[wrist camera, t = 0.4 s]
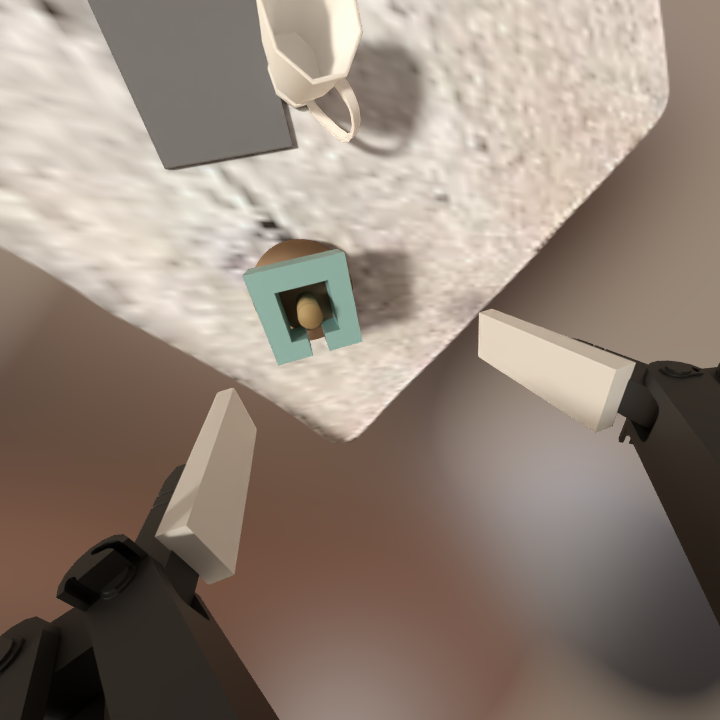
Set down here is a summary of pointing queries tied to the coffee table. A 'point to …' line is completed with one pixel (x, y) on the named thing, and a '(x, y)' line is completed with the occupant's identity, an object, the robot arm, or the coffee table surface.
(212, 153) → the mat
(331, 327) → the link
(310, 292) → the stand
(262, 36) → the cup
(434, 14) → the coffee table surface
